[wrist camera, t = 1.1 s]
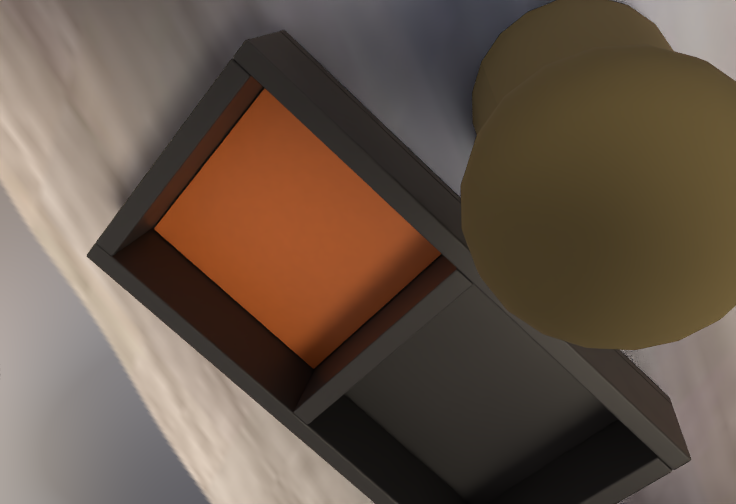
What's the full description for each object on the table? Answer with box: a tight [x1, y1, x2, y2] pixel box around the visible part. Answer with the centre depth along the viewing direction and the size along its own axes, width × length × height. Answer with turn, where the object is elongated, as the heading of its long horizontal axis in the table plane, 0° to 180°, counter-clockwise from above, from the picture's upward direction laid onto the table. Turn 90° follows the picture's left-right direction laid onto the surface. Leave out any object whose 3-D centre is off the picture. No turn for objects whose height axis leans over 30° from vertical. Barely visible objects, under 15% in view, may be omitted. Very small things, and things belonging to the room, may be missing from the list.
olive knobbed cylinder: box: [461, 0, 736, 350], centre depth 15 cm, size 6×6×11 cm
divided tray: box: [87, 30, 691, 504], centre depth 22 cm, size 9×18×3 cm, turn 48°
